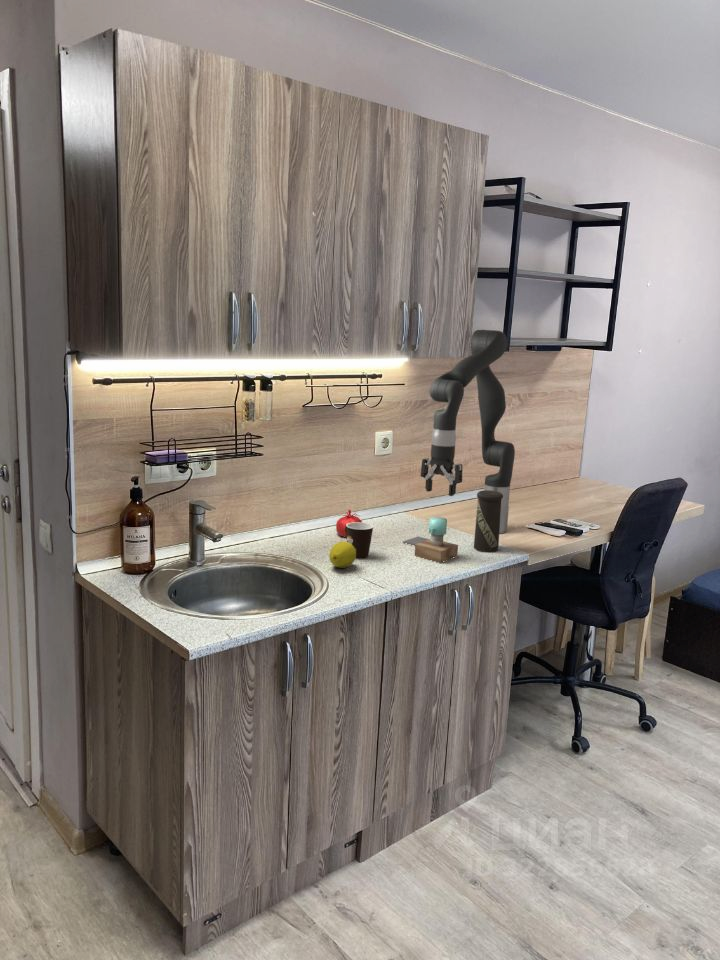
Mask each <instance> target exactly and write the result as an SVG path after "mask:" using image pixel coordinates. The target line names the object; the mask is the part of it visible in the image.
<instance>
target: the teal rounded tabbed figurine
mask: <svg viewBox="0 0 720 960" xmlns="http://www.w3.org/2000/svg"><path fill="white" fill-rule="evenodd" d="M428 525H429V526H428V534H429V535H431V534H433V535H444V536H445V535H446V534H447V529H448V528H447V527H448V519H447V518H446V517H441V516H432V517H430V518H429V524H428Z"/></svg>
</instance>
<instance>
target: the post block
mask: <svg viewBox="0 0 720 960" xmlns="http://www.w3.org/2000/svg"><path fill="white" fill-rule="evenodd" d="M444 537H445V535H433V534H430V538H429V539H430V540H427V541H424V542H421V543H418V544H415V546H414V557H415V556H416V558H419V557H420V558H419V559H423V558H424V559H423V560H426V559H427V560H426V561H430V560H432V561H431V562H434V561H436V562H435V563H438V562H440V563H439V564H442V563H444V562H443V561H445V562H447V561H446V560H448V561H450V560H452V559H451V558H453V557H455V558H457V557H458V551H459V544H455V543H452V542H448V541H444ZM456 556H457V557H456ZM449 559H450V560H449ZM453 559H454V558H453ZM441 562H442V563H441Z"/></svg>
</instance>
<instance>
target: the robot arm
mask: <svg viewBox="0 0 720 960" xmlns="http://www.w3.org/2000/svg"><path fill="white" fill-rule="evenodd" d="M470 339H471V340H470V351H471V355H469V356H467V357H465V358H463V359H461V360H460V361H459V362H457V363H456V364H455V365H454V367H452V369H451V370H450V371H447V372H445V373H443V374H442V375H440V376H438V377H436V378H435V379H434V380H433V381H432V383H431V385H430V387H429V395H430V397H431V399H432V400H433V401H435V402H440V403H447V406H446V407H445V408H444V409H439V410H435V412H434V414H433V426H432V434H431V443H430V444H431V446H430V457H431V458H429V457H428V458H427V457H426V458H423V459H422V460H421V468H420V477H421V478H424V480H425V487H424V488H425V490H426V491H425V492H428V493H430V492H432V491H433V478H434V477H435V475H437V476H438V475H440V476H443V477H445V479H447V480H448V483H449V485H448V487H449V488H448V496H449V497H453V496H455V495H456V493H457V485H458V484H460V483H462V482H463V464H462V463H458V464H457V463H456V464H455V463H454V460H455V456H456V454H455V453H456V443H457V442H456V439H457V435H456V434H457V433H456V429H457V427H456V426H457V416H458V412H459V410H460V407H461V403H462V402H463V401H462V400H463V398H464V394H465V388H466V387H467V386H468V385H469V384H470V383H471V382H472V381H473V379H474V378H476V386H477V399H478V408H479V409H478V410H479V414H480V423H481V426H480V427H481V458H482V460H483V462H484V464H486V465H488V466H491V467H499V469H498V472H496V473H492V474H489V475H487V476H485V479H484V488H483V490H490V491H497V492H500V493H501V494H502V495H503V498H502V500H501V513H500V531H499V534H504V533H506V532H507V530H508V524H509V523H508V520H509V510H510V506H509V505H510V494H511V493H510V491H511V489H510V488H511V482H512V477H513V471H514V470H513V469H514V464H515V463H514V462H515V455H516V451H515V445H514V444H513V443H512V442H508V441H502V440H501V441H500V440H496V439H495V438H496V437H495V431H496V427H497V426H498V424H499V422H500V421H501V419H502V418H503V417H504V414H505V413H506V408H507V406H506V405H507V403H506V393H505V389H504V387H503V385H502V383H501V382H500V381H499V379H498V378H497V376H496V375H495V373H494V372H493V370H492V369H491V367H490V365H491V364H493V363H495V362H496V361H497V360H499V359H500V358H501V357H502V356H503V355H504V354H505V352H506V350H507V347H508V340H507V336H506V334H505V333H504V332H503V331H501V330H493V329H477V330H475V331H474V332H472V335H471V338H470ZM429 467H431V468H430V469H429Z"/></svg>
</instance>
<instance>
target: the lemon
mask: <svg viewBox="0 0 720 960" xmlns="http://www.w3.org/2000/svg"><path fill="white" fill-rule="evenodd" d="M328 557H329V561H330V563H331V564H332V565H333V566H334V567H336V568H338V569H339V568H341V569H344V568H348V567H350V566H351V565H352V564H353V563H355V560H357V559H356V550H355V548H354V546H353V545H352V544H350V543H349V542H347V541H339V542H337V543H335V544H333V546H332V547H331V548H330V550H329V553H328Z"/></svg>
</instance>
